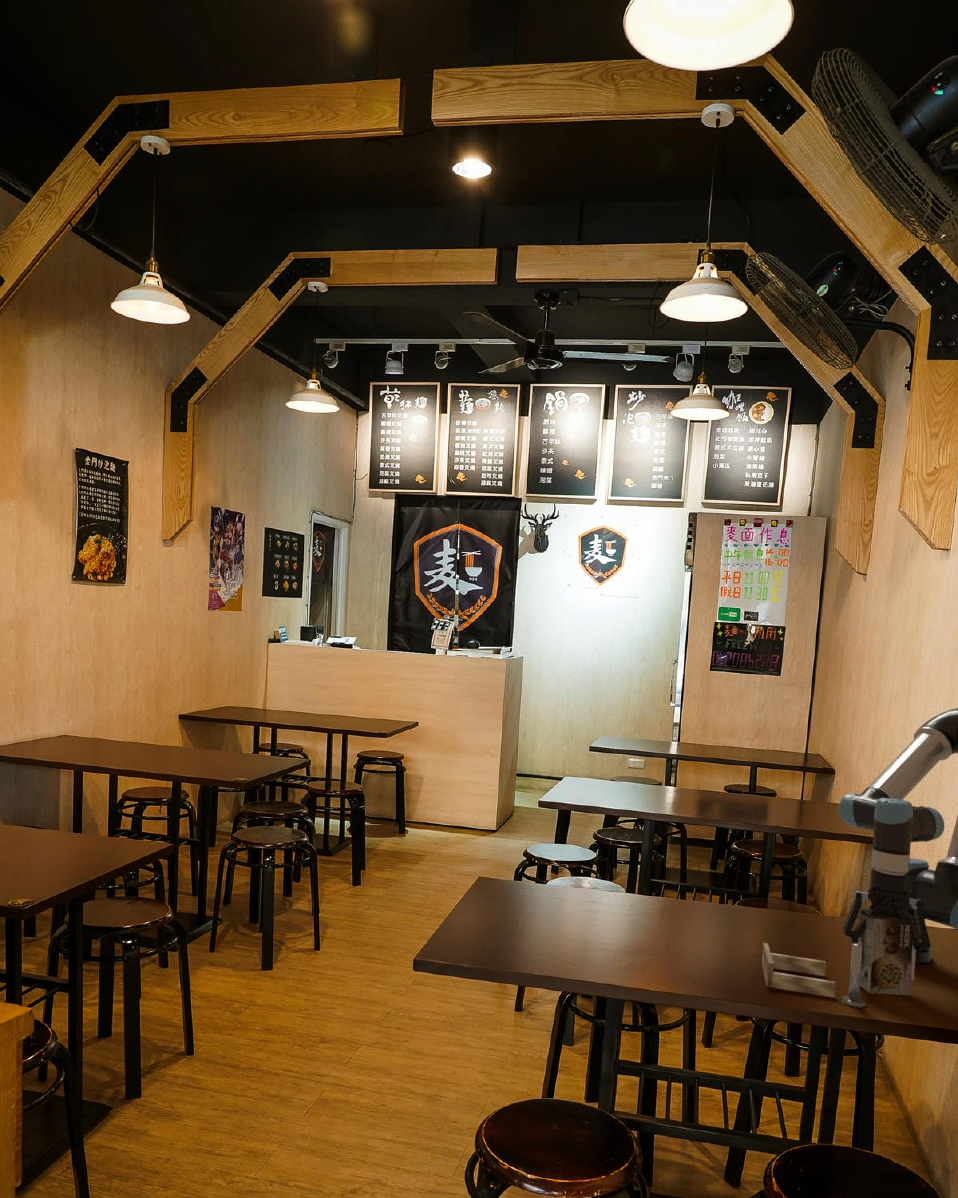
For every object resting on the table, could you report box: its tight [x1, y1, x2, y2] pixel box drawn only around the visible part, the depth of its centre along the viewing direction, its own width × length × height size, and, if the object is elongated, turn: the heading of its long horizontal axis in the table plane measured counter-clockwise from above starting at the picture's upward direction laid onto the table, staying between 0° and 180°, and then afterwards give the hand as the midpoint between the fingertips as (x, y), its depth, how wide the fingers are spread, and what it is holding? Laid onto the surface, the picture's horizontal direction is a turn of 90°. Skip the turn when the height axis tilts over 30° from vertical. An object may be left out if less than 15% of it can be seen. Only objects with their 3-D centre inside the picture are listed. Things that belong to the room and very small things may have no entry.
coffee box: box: [859, 909, 913, 996], centre depth 195 cm, size 9×6×16 cm
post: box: [841, 943, 866, 1009], centre depth 185 cm, size 4×4×12 cm
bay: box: [761, 942, 836, 999], centre depth 195 cm, size 14×14×5 cm
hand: (883, 974), depth 195 cm, fingers closed on coffee box, 10 cm apart
